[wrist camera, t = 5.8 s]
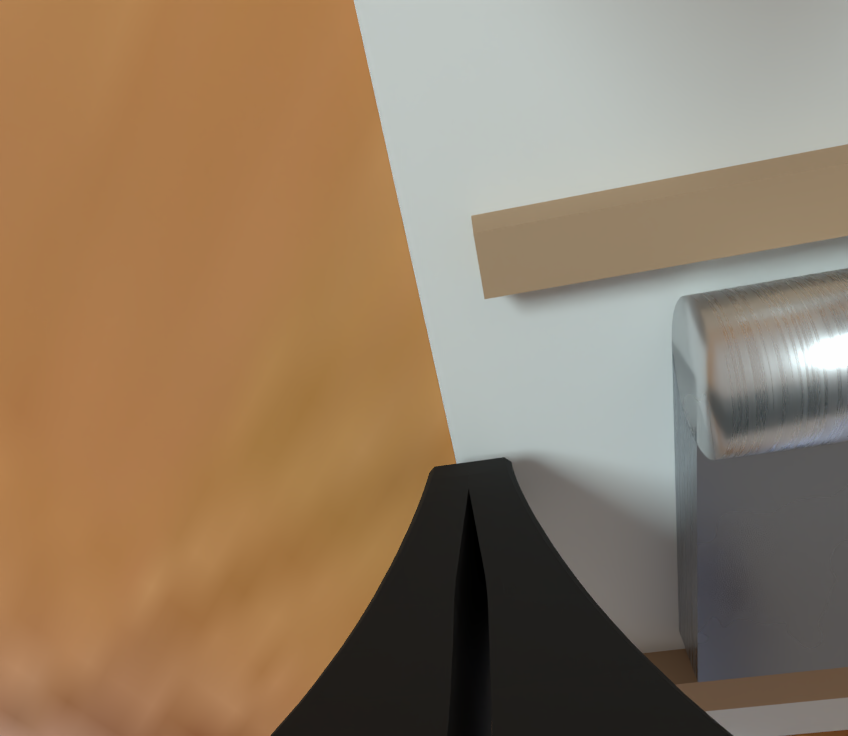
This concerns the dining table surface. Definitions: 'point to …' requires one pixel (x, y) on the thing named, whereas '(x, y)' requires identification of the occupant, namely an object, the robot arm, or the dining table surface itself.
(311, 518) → the dining table surface
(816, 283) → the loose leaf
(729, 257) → the hinge jig
